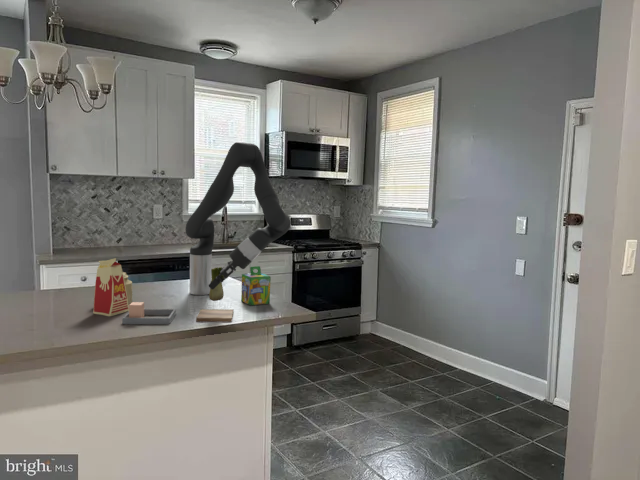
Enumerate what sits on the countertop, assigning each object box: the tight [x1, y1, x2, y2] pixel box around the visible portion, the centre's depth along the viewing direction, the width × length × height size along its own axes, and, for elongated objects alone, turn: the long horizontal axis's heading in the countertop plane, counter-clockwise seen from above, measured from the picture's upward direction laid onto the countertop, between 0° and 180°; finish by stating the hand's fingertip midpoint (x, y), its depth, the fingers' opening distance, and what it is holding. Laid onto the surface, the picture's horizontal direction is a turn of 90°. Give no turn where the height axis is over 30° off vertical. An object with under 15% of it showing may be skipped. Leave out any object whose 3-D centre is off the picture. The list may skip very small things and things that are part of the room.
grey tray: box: [121, 308, 177, 325], centre depth 163 cm, size 12×15×2 cm
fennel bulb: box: [208, 266, 225, 302], centre depth 167 cm, size 6×5×12 cm
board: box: [195, 308, 234, 323], centre depth 168 cm, size 12×12×1 cm
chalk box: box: [240, 265, 272, 306], centre depth 191 cm, size 9×9×15 cm
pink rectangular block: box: [128, 301, 145, 318], centre depth 160 cm, size 4×4×6 cm
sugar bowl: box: [122, 271, 133, 305], centre depth 182 cm, size 15×11×15 cm
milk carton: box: [92, 257, 129, 317], centre depth 169 cm, size 9×9×20 cm
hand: (211, 285), depth 167 cm, fingers closed on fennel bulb, 5 cm apart
